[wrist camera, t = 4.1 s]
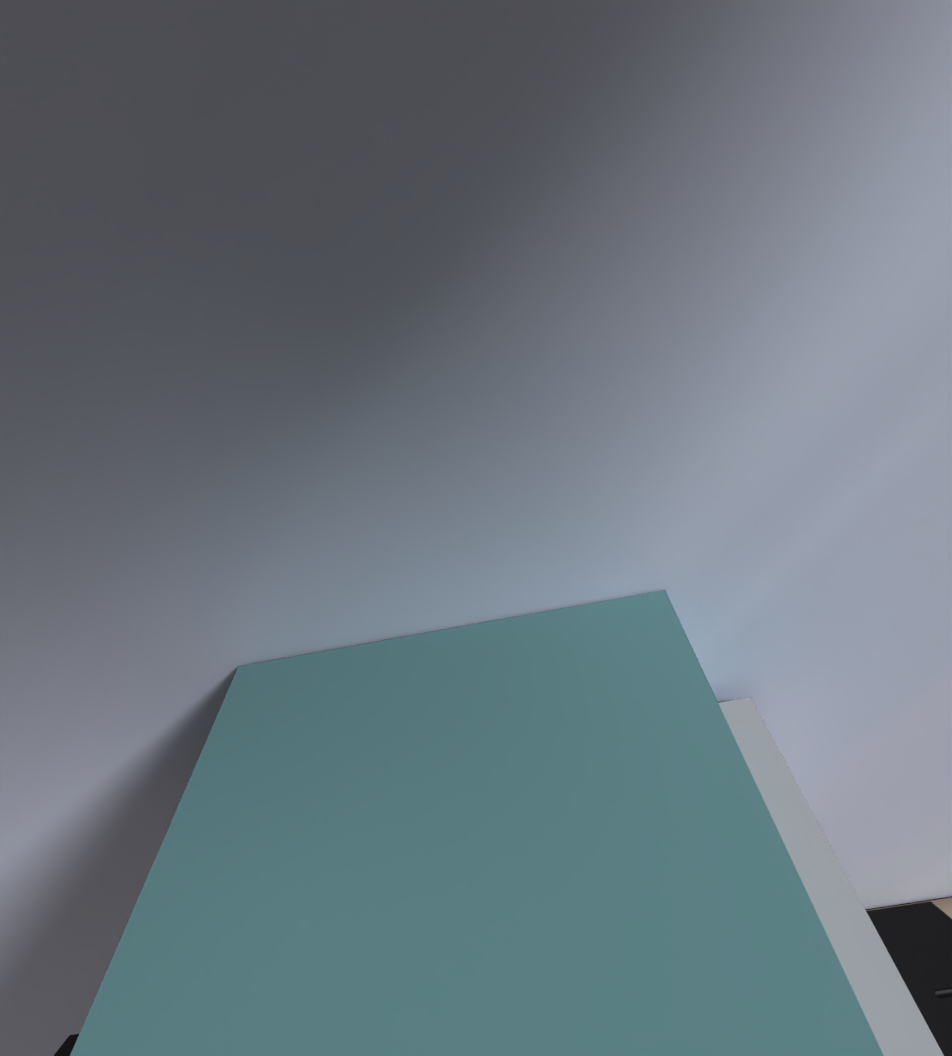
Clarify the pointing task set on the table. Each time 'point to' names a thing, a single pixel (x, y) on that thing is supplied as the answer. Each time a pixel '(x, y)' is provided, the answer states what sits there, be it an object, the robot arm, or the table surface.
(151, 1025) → the teal sharp-edged block
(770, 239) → the table surface
